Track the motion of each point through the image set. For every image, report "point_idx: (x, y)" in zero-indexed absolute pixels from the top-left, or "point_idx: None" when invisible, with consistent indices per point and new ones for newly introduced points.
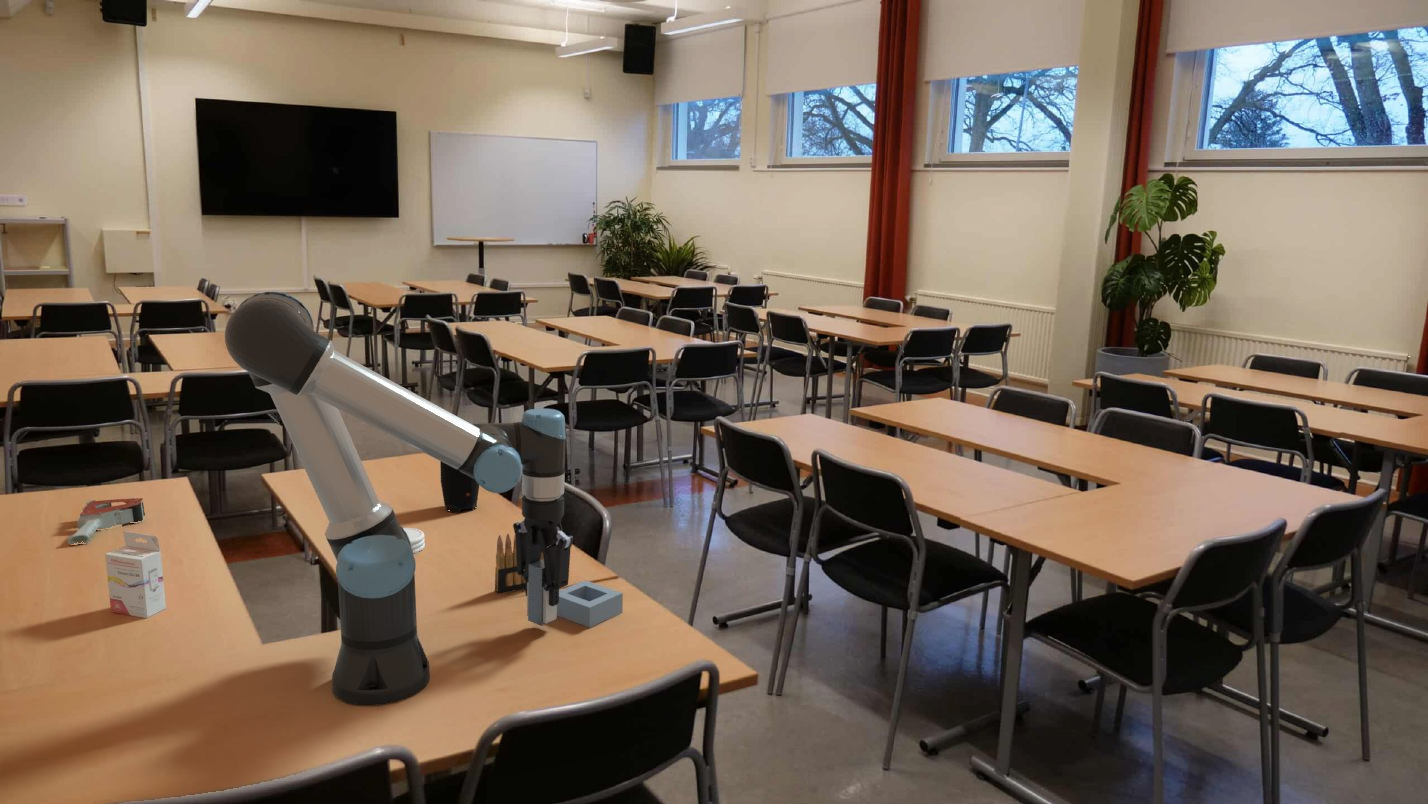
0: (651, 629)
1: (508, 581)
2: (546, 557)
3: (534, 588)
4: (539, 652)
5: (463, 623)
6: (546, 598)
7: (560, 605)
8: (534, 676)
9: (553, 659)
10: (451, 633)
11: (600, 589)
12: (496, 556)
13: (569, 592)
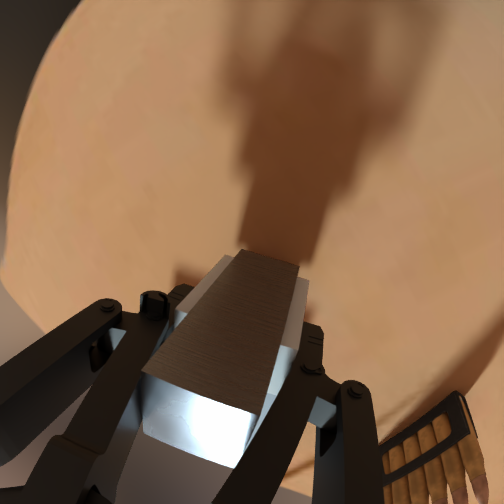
0: None
1: (442, 423)
2: (88, 421)
3: (243, 317)
4: (192, 145)
5: (480, 222)
6: (191, 291)
7: None
8: (140, 47)
9: (144, 132)
10: (477, 153)
11: None
12: (482, 457)
13: None
